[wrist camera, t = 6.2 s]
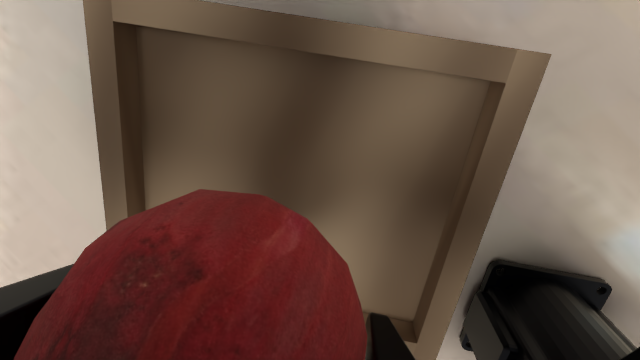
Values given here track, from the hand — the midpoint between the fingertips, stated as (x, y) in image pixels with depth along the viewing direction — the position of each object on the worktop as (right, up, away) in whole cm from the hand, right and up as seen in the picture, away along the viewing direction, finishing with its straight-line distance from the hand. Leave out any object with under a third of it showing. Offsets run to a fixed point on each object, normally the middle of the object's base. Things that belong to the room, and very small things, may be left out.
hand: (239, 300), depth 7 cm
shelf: (+1, +4, +10) cm, 11 cm away
